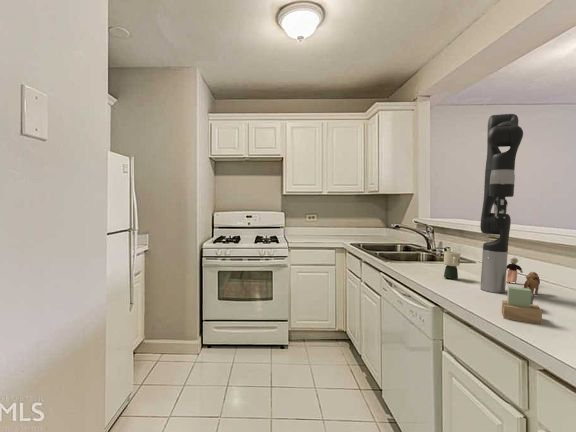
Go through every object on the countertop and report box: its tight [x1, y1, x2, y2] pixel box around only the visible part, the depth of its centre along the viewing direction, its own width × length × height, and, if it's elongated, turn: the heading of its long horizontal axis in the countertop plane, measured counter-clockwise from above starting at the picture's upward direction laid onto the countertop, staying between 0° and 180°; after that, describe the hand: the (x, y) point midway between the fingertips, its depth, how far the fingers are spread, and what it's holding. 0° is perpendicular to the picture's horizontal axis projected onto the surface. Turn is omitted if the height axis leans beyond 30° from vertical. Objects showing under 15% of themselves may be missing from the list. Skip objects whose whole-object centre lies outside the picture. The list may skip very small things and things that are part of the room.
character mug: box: [443, 250, 461, 280], centre depth 171 cm, size 11×7×13 cm, turn 169°
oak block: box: [501, 300, 543, 325], centre depth 114 cm, size 8×10×4 cm
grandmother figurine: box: [506, 256, 524, 283], centre depth 166 cm, size 8×4×13 cm, turn 76°
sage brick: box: [506, 285, 531, 308], centre depth 114 cm, size 6×4×6 cm, turn 63°
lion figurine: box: [523, 271, 541, 298], centre depth 145 cm, size 15×5×9 cm, turn 141°
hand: (498, 228), depth 125 cm, fingers open, 8 cm apart
